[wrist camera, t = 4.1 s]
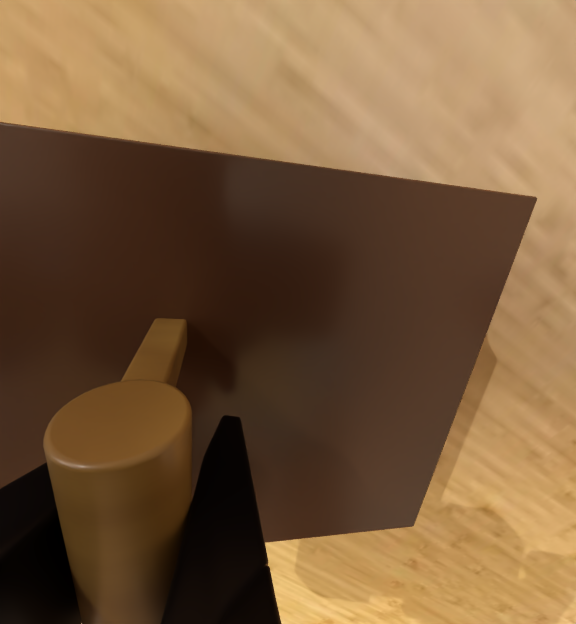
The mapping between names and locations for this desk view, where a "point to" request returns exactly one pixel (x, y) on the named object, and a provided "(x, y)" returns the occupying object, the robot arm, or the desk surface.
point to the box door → (230, 341)
